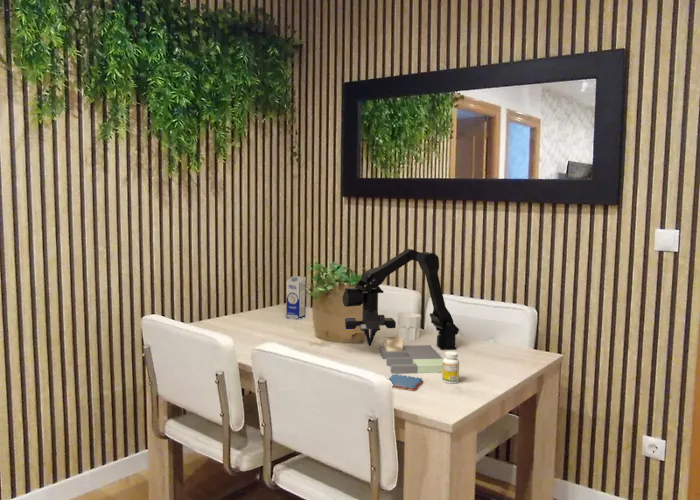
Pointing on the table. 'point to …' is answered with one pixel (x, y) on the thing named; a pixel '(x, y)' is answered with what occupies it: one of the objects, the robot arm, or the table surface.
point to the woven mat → (405, 382)
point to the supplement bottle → (450, 368)
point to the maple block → (393, 344)
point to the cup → (409, 325)
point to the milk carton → (296, 297)
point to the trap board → (413, 359)
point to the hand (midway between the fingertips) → (369, 345)
